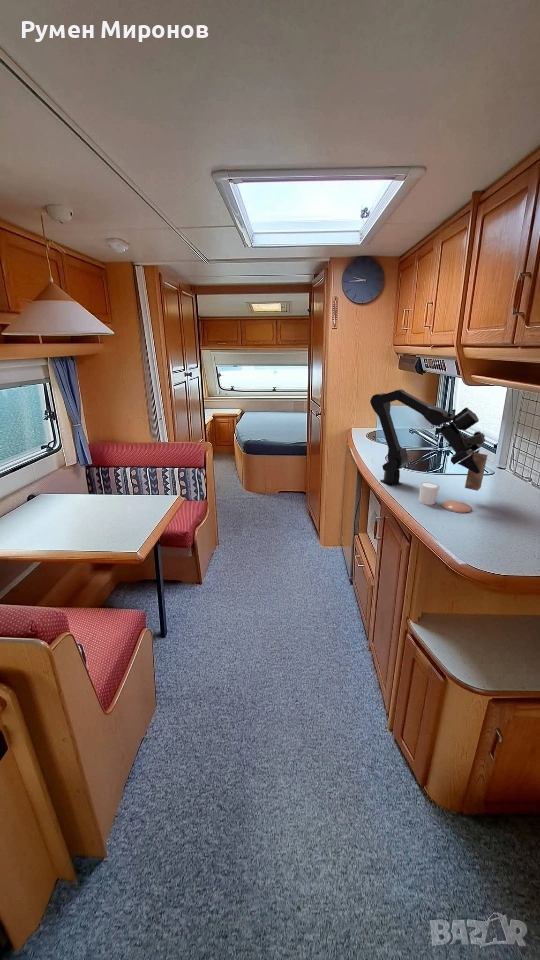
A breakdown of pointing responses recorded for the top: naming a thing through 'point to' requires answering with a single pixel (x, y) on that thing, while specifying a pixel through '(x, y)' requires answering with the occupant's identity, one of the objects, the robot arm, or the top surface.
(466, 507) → the orange flat disc
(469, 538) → the top surface
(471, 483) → the walnut block
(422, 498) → the white short cylinder
